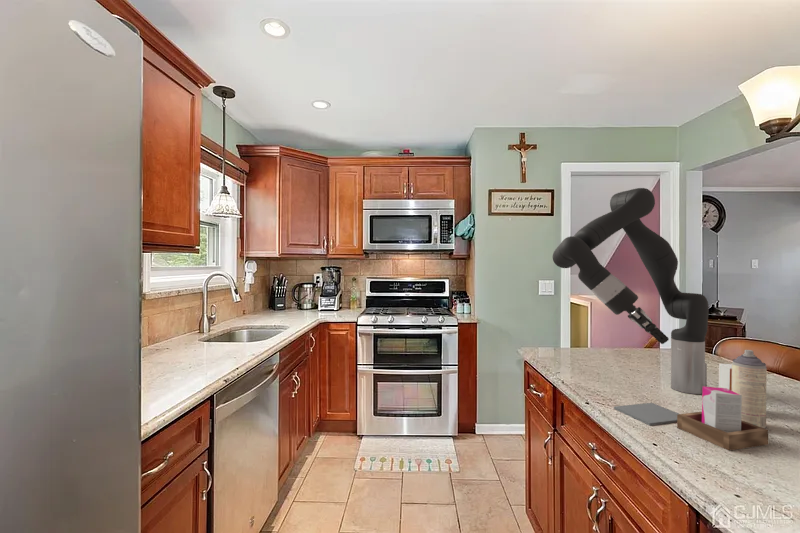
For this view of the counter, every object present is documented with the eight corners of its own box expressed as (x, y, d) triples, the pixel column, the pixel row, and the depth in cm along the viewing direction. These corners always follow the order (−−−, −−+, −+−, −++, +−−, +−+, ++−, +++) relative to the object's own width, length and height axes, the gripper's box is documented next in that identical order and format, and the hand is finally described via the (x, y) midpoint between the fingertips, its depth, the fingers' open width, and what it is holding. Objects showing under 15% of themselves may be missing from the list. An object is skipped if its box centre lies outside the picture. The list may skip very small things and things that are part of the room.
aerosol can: (763, 424, 101) (763, 349, 100) (768, 433, 95) (769, 354, 95) (729, 417, 105) (730, 346, 104) (733, 426, 99) (733, 351, 99)
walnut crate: (713, 423, 101) (713, 410, 101) (768, 444, 89) (768, 429, 89) (677, 427, 98) (677, 414, 98) (729, 450, 86) (729, 435, 86)
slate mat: (651, 404, 114) (651, 402, 114) (690, 420, 103) (690, 418, 103) (613, 408, 111) (613, 406, 111) (649, 425, 99) (649, 423, 99)
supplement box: (742, 442, 90) (742, 395, 90) (714, 440, 91) (714, 393, 91) (726, 431, 96) (726, 387, 96) (700, 429, 97) (700, 385, 97)
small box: (729, 413, 108) (729, 368, 108) (717, 405, 114) (718, 362, 114) (763, 416, 105) (764, 370, 105) (750, 408, 112) (750, 365, 111)
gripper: (626, 285, 97) (681, 334, 91) (623, 283, 109) (670, 326, 104) (603, 305, 99) (654, 353, 94) (602, 300, 112) (648, 343, 106)
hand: (663, 339), depth 99 cm, fingers open, 8 cm apart
